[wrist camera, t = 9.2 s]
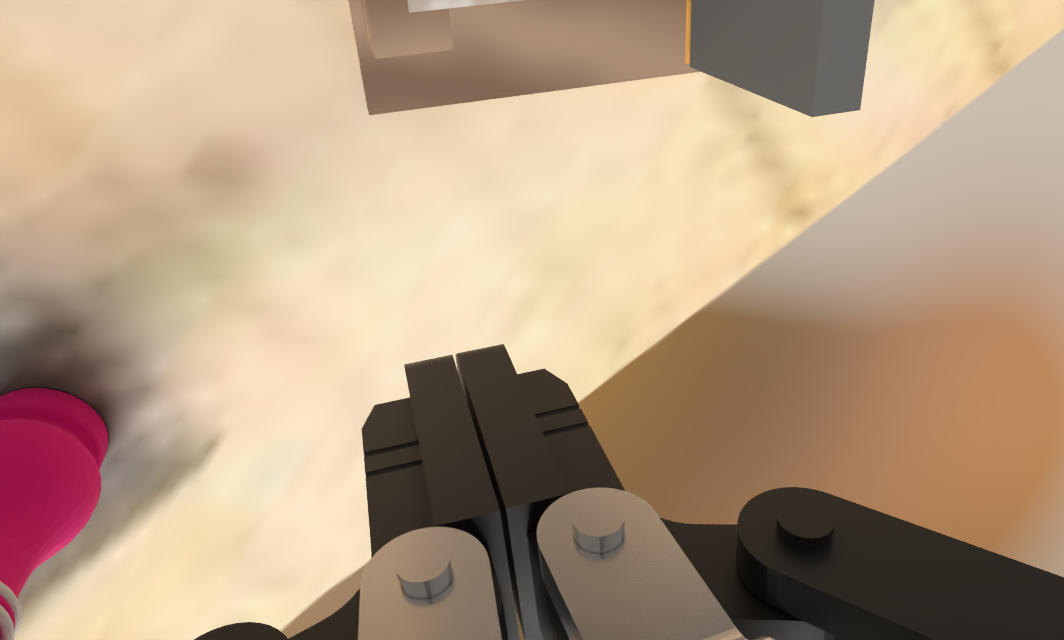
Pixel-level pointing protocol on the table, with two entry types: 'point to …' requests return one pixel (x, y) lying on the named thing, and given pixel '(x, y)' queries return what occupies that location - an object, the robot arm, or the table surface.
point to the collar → (786, 49)
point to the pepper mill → (43, 484)
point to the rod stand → (511, 47)
